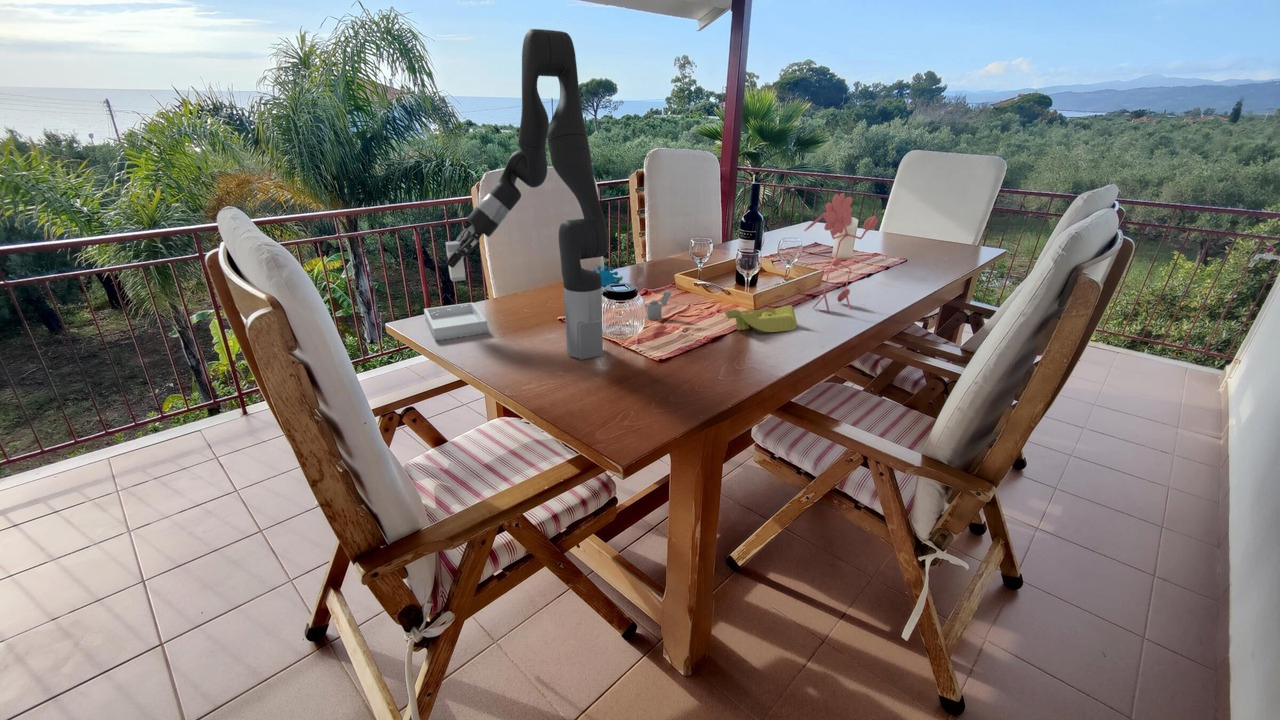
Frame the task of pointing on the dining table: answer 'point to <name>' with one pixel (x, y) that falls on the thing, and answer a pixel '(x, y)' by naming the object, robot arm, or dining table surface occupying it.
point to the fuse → (458, 270)
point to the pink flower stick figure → (836, 222)
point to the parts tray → (455, 321)
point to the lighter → (657, 306)
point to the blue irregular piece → (608, 276)
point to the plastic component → (765, 319)
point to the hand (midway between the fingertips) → (448, 263)
